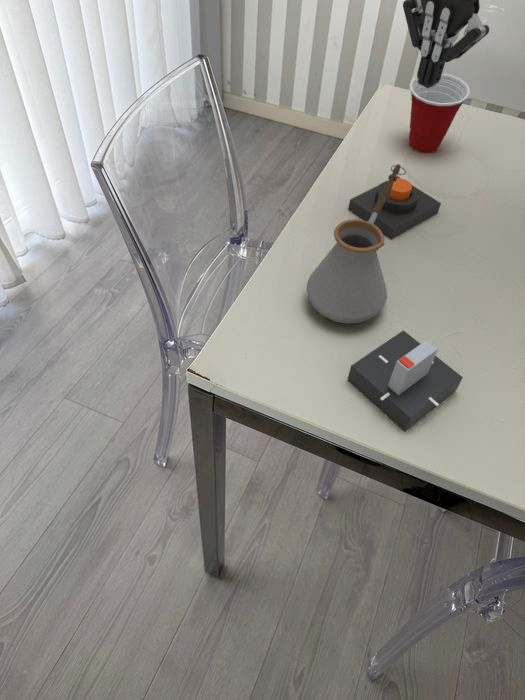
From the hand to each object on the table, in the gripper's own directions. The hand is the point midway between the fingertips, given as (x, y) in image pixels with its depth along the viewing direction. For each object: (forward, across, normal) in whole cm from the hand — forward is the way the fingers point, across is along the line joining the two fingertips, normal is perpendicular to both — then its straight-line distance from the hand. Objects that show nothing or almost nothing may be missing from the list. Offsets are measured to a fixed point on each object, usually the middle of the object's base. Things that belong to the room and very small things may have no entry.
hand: (426, 84), depth 81 cm
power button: (+18, 0, 0) cm, 18 cm away
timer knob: (+19, +27, -28) cm, 43 cm away
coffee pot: (+22, +9, -18) cm, 30 cm away
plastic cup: (+22, -11, +21) cm, 32 cm away
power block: (+22, 0, 0) cm, 22 cm away
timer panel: (+22, +26, -27) cm, 43 cm away
